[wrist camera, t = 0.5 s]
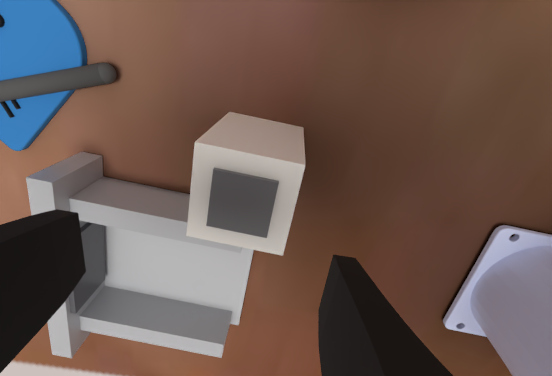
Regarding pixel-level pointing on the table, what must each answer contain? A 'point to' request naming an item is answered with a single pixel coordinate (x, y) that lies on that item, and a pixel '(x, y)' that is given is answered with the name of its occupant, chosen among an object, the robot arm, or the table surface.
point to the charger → (246, 182)
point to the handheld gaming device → (35, 63)
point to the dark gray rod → (57, 81)
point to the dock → (139, 264)
